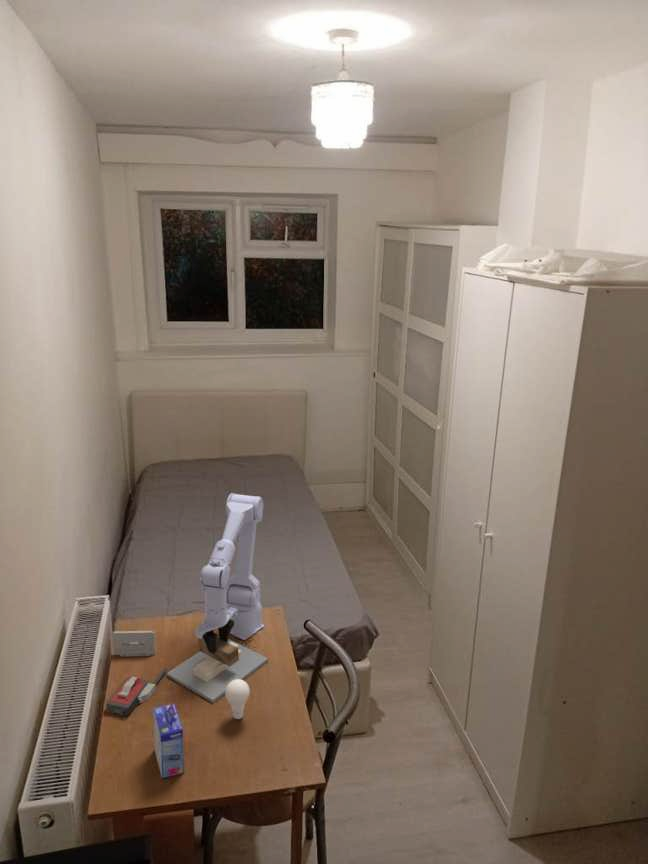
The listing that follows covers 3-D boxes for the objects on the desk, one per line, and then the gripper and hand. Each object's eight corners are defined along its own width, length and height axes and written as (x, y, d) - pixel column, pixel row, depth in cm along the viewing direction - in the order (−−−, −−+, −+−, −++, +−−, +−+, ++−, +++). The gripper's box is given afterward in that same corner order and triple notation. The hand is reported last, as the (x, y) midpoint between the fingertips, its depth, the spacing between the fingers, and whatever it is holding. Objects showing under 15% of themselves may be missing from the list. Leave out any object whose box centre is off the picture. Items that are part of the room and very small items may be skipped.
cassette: (113, 657, 191) (111, 634, 189) (115, 653, 193) (112, 630, 191) (155, 656, 192) (153, 633, 190) (156, 652, 194) (154, 629, 191)
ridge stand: (222, 638, 200) (222, 625, 199) (267, 661, 190) (267, 648, 189) (167, 676, 183) (166, 662, 182) (213, 703, 173) (212, 689, 172)
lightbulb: (240, 706, 172) (239, 670, 169) (255, 718, 168) (254, 682, 165) (221, 717, 168) (220, 681, 165) (235, 730, 164) (234, 693, 161)
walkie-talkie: (133, 722, 167) (169, 673, 185) (132, 708, 165) (168, 659, 184) (102, 716, 169) (141, 667, 187) (101, 701, 167) (140, 654, 186)
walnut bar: (238, 660, 183) (238, 647, 182) (229, 666, 180) (229, 654, 179) (208, 644, 190) (207, 632, 189) (199, 650, 187) (198, 638, 186)
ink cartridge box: (186, 773, 151) (183, 721, 147) (161, 780, 149) (158, 727, 145) (177, 743, 160) (174, 693, 155) (154, 749, 158) (150, 699, 153)
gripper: (224, 589, 188) (225, 630, 193) (186, 612, 177) (188, 655, 181) (242, 597, 185) (243, 639, 189) (204, 621, 173) (206, 665, 177)
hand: (217, 647), depth 185 cm, fingers open, 4 cm apart
